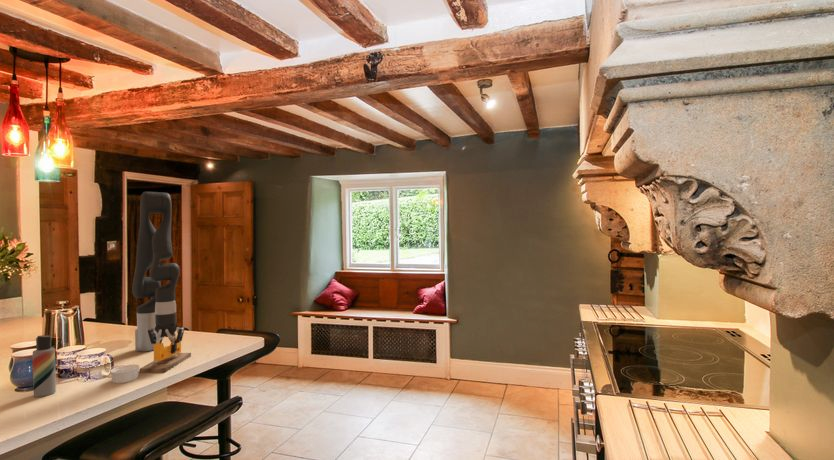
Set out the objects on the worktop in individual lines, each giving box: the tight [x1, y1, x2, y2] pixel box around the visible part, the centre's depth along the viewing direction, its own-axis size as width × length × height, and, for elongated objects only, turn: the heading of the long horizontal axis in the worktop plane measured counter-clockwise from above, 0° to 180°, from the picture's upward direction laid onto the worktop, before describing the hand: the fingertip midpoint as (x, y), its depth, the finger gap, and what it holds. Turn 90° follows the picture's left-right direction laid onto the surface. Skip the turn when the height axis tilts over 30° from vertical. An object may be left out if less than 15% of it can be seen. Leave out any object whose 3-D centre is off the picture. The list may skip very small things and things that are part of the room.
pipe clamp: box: [153, 336, 182, 361], centre depth 174 cm, size 12×4×6 cm, turn 171°
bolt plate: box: [139, 352, 192, 374], centre depth 174 cm, size 10×20×2 cm, turn 3°
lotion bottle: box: [32, 334, 57, 398], centre depth 144 cm, size 6×6×20 cm
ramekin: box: [110, 363, 140, 384], centre depth 157 cm, size 9×9×4 cm
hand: (166, 353), depth 174 cm, fingers closed on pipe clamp, 4 cm apart
